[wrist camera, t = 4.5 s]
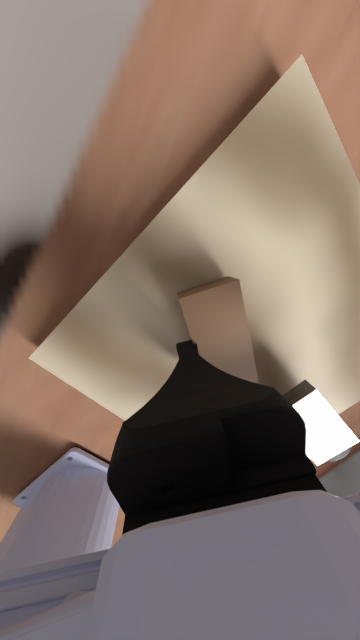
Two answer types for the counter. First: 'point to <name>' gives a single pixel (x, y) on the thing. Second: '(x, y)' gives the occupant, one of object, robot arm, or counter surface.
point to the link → (220, 326)
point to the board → (236, 264)
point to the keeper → (320, 425)
